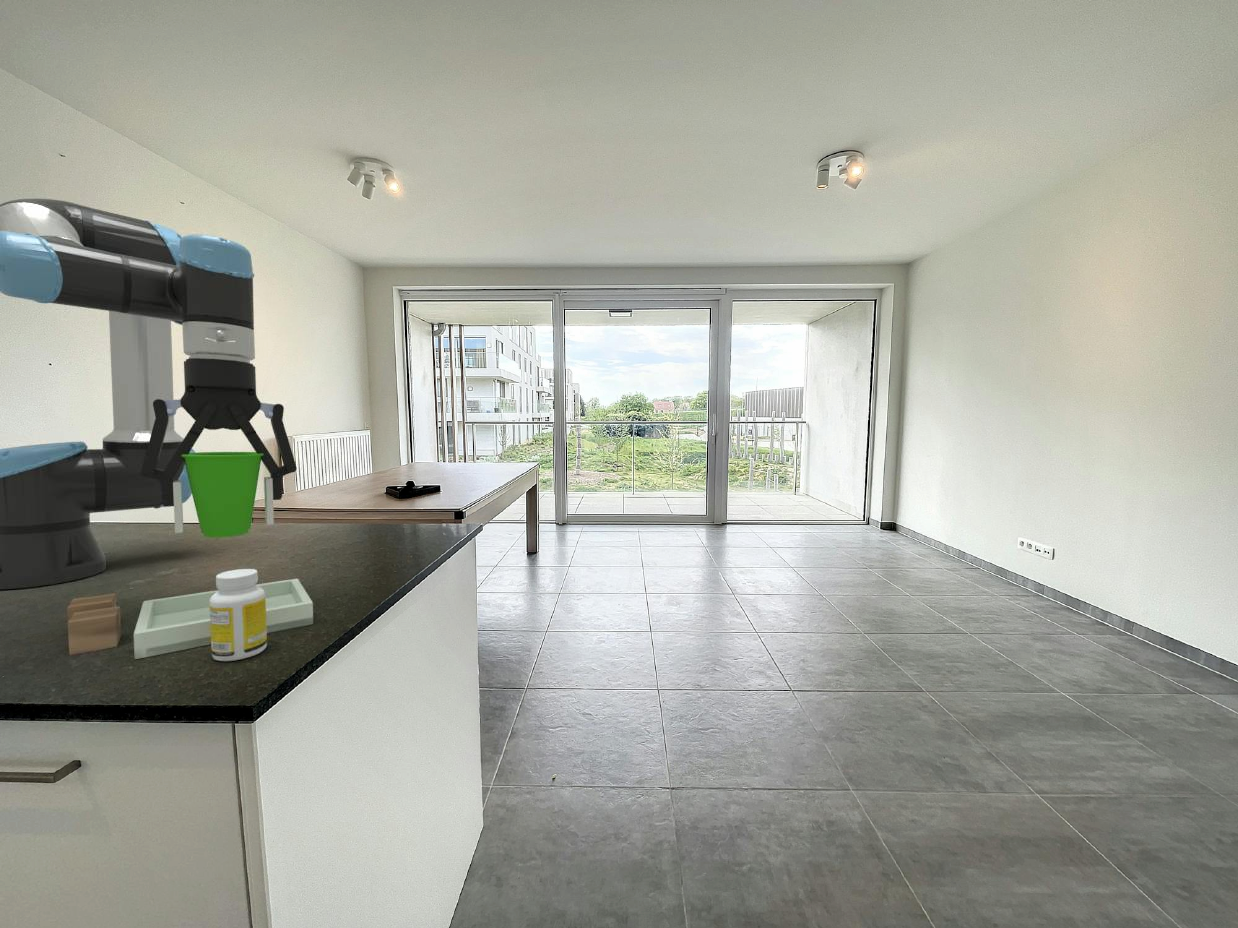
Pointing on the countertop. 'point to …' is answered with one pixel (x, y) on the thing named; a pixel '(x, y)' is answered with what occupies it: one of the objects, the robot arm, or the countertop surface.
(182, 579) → the countertop surface
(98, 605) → the walnut block
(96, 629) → the walnut block
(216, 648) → the supplement bottle
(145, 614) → the tray
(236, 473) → the cup
